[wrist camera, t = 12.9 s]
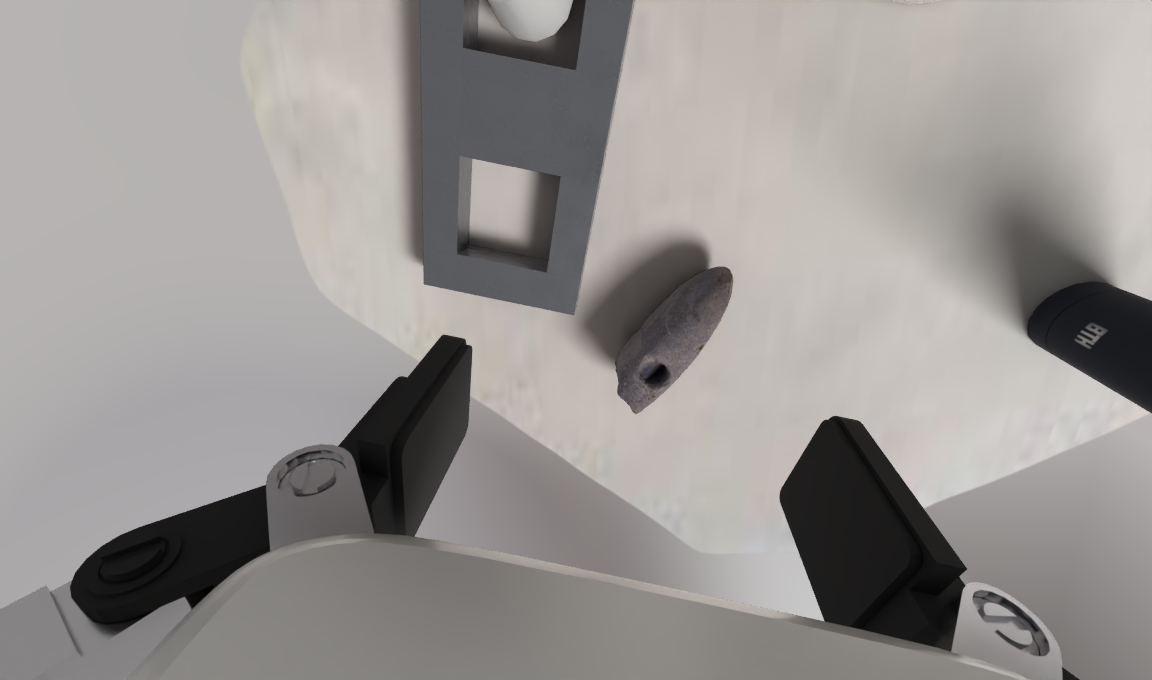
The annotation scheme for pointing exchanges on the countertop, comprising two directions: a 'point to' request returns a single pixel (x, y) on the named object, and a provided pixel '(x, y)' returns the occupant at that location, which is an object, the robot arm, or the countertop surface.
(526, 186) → the countertop surface
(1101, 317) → the wine bottle
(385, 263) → the countertop surface
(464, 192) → the socket panel
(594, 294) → the countertop surface
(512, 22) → the salt shaker
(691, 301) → the perforated stone tool
